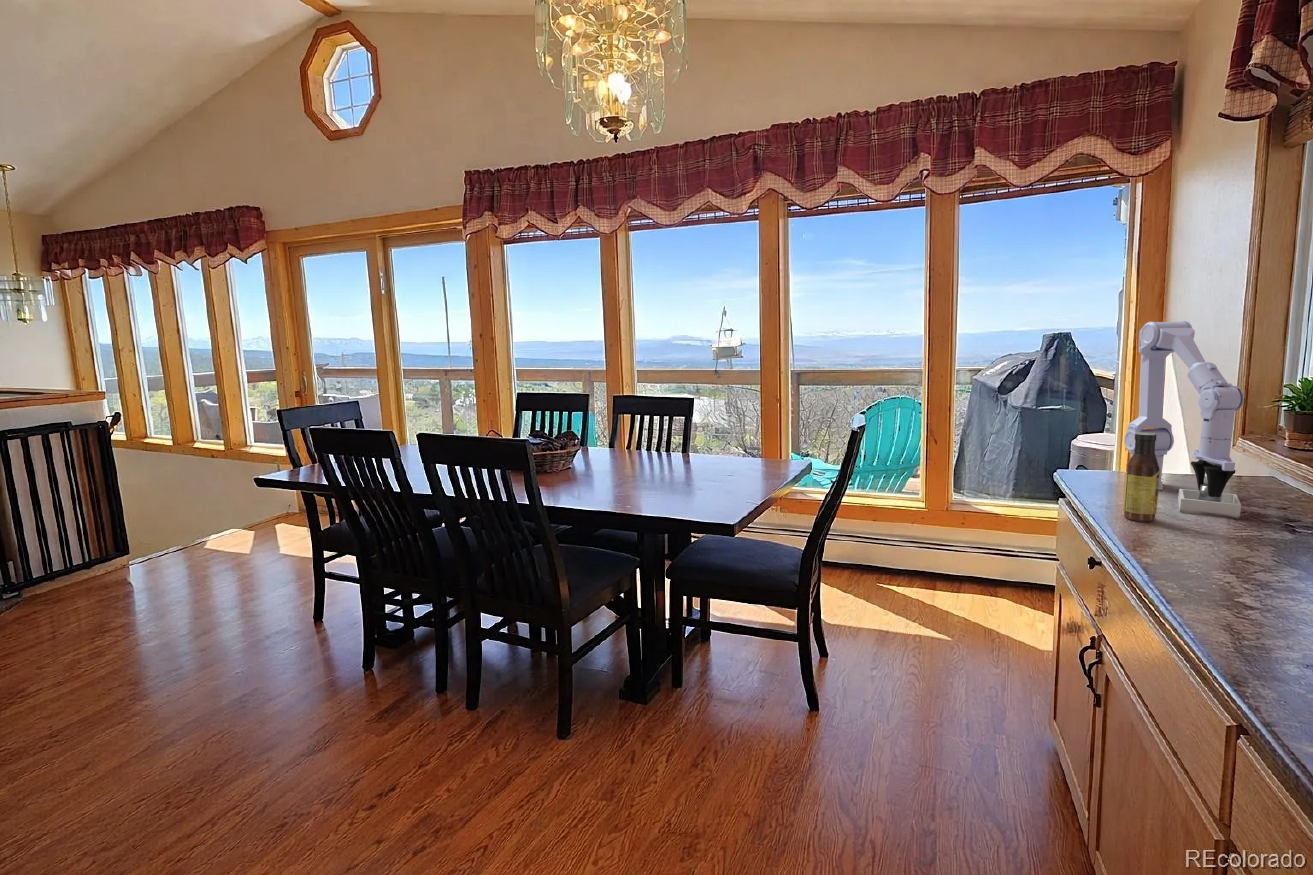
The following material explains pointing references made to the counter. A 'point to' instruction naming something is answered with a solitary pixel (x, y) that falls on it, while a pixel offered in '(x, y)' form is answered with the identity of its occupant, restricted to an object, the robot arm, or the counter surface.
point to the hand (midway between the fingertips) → (1209, 494)
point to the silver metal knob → (1204, 492)
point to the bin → (1209, 504)
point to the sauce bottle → (1142, 480)
